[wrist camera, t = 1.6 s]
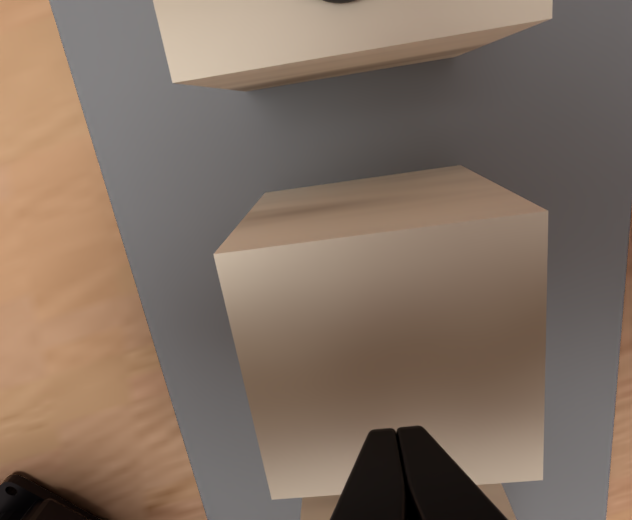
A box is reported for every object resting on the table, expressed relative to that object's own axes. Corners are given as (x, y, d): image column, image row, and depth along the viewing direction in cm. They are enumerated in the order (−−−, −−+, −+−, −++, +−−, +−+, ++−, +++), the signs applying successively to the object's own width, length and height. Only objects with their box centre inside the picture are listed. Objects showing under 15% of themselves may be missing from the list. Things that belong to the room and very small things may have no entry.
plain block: (468, 340, 15) (543, 479, 10) (296, 358, 16) (271, 499, 10) (460, 164, 13) (548, 211, 8) (264, 192, 14) (213, 254, 8)
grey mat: (593, 517, 19) (604, 534, 18) (223, 540, 20) (219, 557, 19) (649, -274, 11) (673, -303, 10) (25, -132, 12) (4, -147, 11)
